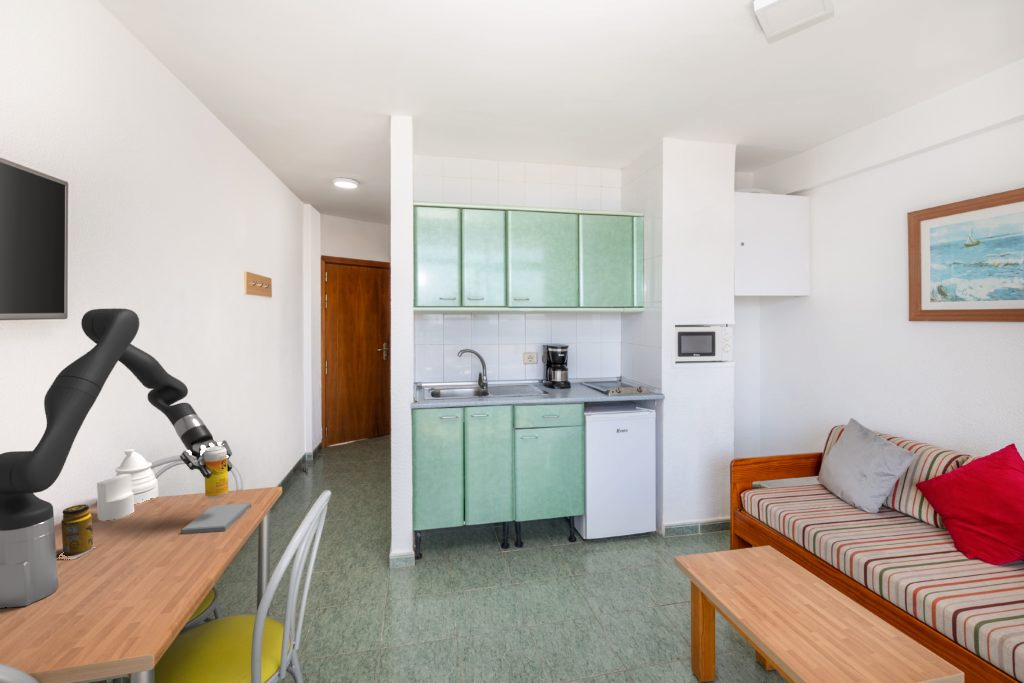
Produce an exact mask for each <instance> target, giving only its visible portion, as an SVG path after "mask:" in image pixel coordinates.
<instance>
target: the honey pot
mask: <svg viewBox="0 0 1024 683" xmlns="http://www.w3.org/2000/svg"><path fill="white" fill-rule="evenodd" d="M123 452H124V454H125V457H124V459H123V460H122V462H121V463H120V465H119V466H117V467H116V468H115V470H114V471H115V472H116V475H115V477H116V476H119V475H122V474H131V485H132V492H133V495H134V504H136V505H138V504H137V503H140V504H143V503H142V502H144V501H146V500H150V498H154V499H156V498H157V497H159V484H158V482H159V481H158V479H157V478H156V475H155V474H154V471H153V469H152V468H151V467H152V465H153V463H152V462H150V461H147V460H146V459H145V457H144V456H142V455H141V454H140V453H138V452H137V451H135V449H133V448H129V449H125V450H124V451H123ZM142 499H143V500H142ZM150 501H151V500H150ZM144 503H145V502H144Z"/></svg>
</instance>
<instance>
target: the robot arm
mask: <svg viewBox="0 0 1024 683" xmlns="http://www.w3.org/2000/svg"><path fill="white" fill-rule="evenodd" d="M80 324H81V329H82V331H83V333H84V334H85V336H86V337H88V339H90V340H91V341H92V342H93V343H95V344H96V345H94V347H93V348H91V349H90V350H89V351H87V352H86V353H85V354H83V355H81V356H80V357H78V358H77V359H75V360H74V361H73V362H71V363H70V364H68V365H67V366H65V367H64V368H63V369H62V370H61V371H60V372H59V373H58V374H57V376H56V377H55V379H54V381H52V383H51V385H50V386H49V389H47V391H46V393H45V395H44V398H43V399H44V400H43V406H44V413H45V418H46V427H45V430H44V433H43V435H42V437H41V438H40V440H39V441H38V444H37V445H36V446H35V448H34V449H33V450H24V451H23V450H21V451H20V450H19V451H17V450H16V451H6V452H2V453H0V609H5V607H7V608H15V607H16V608H17V607H19V608H20V607H27V606H29V605H30V604H33V603H35V602H37V601H40V600H42V599H44V598H47V597H48V596H50V595H52V594H54V593H55V592H56V591H57V590H58V588H59V578H58V577H59V576H58V575H59V574H58V560H57V559H56V554H57V545H56V532H55V531H56V530H55V529H56V528H55V518H54V517H55V514H54V513H55V512H54V506H53V505H52V503H51V502H49V501H47V500H44V499H42V498H40V497H38V496H36V495H35V494H37V493H41V492H44V491H46V490H48V489H49V488H50V487H51V486H53V484H55V482H56V481H57V480H58V478H59V476H60V475H61V473H62V471H63V469H64V466H65V464H66V462H67V459H68V456H69V454H70V451H71V449H72V447H73V444H74V442H75V439H76V438H77V435H78V433H79V432H80V430H81V427H82V425H83V424H84V421H85V419H86V418H87V416H88V414H89V413H90V411H91V409H92V408H93V405H94V404H95V403H96V401H97V399H98V397H99V396H100V393H101V392H102V390H103V387H104V386H105V384H106V382H107V380H108V378H109V377H110V374H111V373H112V371H113V369H114V368H115V366H116V365H117V363H118V362H119V363H121V364H122V365H123V366H125V367H126V368H127V369H128V370H129V371H130V372H131V373H132V375H133V376H134V377H135V378H136V379H137V380H138V381H139V383H141V385H142V386H144V387H145V388H147V389H150V390H149V392H148V393H147V400H148V402H149V404H150V405H152V406H153V407H154V408H156V409H157V410H158V411H160V412H161V413H162V414H164V415H165V417H167V419H168V421H169V422H170V424H171V425H172V426H173V428H174V430H175V433H176V435H177V436H178V438H179V439H180V441H181V443H182V444H183V445H184V447H185V448H186V450H183V451H182V453H181V454H180V456H179V459H181V460H182V461H183V464H185V465H186V466H187V467H188V468H189V470H191V471H194V470H198V471H199V473H201V475H202V477H204V478H205V477H206V478H210V476H211V475H212V473H211V472H210V470H209V468H208V467H207V466H206V465H204V464H205V462H204V454H203V453H204V451H205V449H206V448H209V447H213V446H225V448H226V450H227V471H228V473H229V472H231V470H232V469H233V464H232V462H231V461H230V457H232V456H233V451H232V450H231V448H230V446H229V444H228V442H227V440H225V439H224V440H222V441H221V442H217V441H215V440H214V438H213V437H214V436H213V435H212V433H211V431H210V430H209V429H208V427H207V425H206V424H205V423H204V421H203V419H201V417H199V415H198V413H196V410H195V409H194V407H193V406H192V405H191V404H190V403H188V402H180V403H178V402H179V401H181V400H183V399H185V398H186V397H187V396H188V392H189V389H188V387H187V385H186V384H185V383H184V382H182V381H181V380H180V379H178V378H176V377H175V376H173V375H172V374H170V373H168V372H167V370H165V368H164V367H163V365H161V364H160V361H158V360H157V359H156V358H155V357H154V356H152V355H151V354H149V353H147V352H146V351H144V350H142V349H140V348H139V347H137V346H135V345H134V344H132V342H133V341H134V339H135V338H136V335H137V334H138V331H139V328H140V317H139V316H138V314H137V313H136V312H135V311H133V310H132V309H127V308H120V307H119V308H115V307H114V308H112V307H111V308H96V309H90V310H88V311H86V312H85V313H84V314H83V316H82V318H81V322H80ZM175 403H176V404H175ZM194 457H195V459H194Z"/></svg>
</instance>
